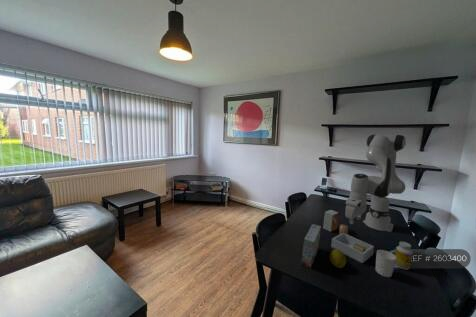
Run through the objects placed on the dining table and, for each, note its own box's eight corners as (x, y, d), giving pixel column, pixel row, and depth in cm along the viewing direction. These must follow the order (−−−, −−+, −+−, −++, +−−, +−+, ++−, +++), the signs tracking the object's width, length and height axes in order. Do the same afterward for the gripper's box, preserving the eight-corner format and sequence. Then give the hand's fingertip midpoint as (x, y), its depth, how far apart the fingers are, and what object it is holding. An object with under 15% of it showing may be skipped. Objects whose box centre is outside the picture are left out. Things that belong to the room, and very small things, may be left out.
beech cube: (356, 250, 116) (357, 242, 115) (365, 254, 111) (366, 246, 111) (352, 252, 113) (353, 244, 112) (361, 257, 109) (362, 249, 108)
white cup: (370, 267, 102) (372, 249, 100) (384, 266, 102) (386, 249, 101) (382, 278, 94) (385, 259, 93) (397, 278, 95) (400, 259, 93)
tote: (331, 247, 119) (332, 238, 118) (342, 240, 126) (343, 232, 126) (362, 263, 104) (363, 254, 104) (372, 255, 112) (373, 246, 111)
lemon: (344, 274, 96) (346, 259, 95) (327, 268, 100) (329, 253, 99) (345, 262, 105) (347, 248, 104) (330, 257, 109) (331, 243, 108)
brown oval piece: (341, 232, 137) (342, 223, 136) (348, 236, 132) (349, 226, 132) (337, 234, 134) (338, 225, 133) (344, 238, 130) (346, 228, 129)
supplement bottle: (405, 271, 99) (409, 248, 98) (390, 263, 105) (394, 241, 104) (412, 268, 102) (416, 246, 100) (397, 260, 108) (401, 239, 106)
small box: (330, 232, 137) (332, 214, 135) (322, 228, 142) (324, 211, 140) (337, 229, 141) (339, 212, 140) (329, 225, 147) (330, 209, 145)
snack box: (311, 269, 98) (314, 242, 96) (300, 265, 101) (303, 238, 99) (319, 249, 116) (321, 225, 114) (309, 245, 119) (311, 223, 117)
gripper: (359, 195, 125) (357, 215, 128) (344, 202, 114) (341, 223, 116) (370, 198, 120) (367, 219, 123) (355, 205, 109) (352, 228, 111)
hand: (355, 221), depth 119 cm, fingers open, 8 cm apart
